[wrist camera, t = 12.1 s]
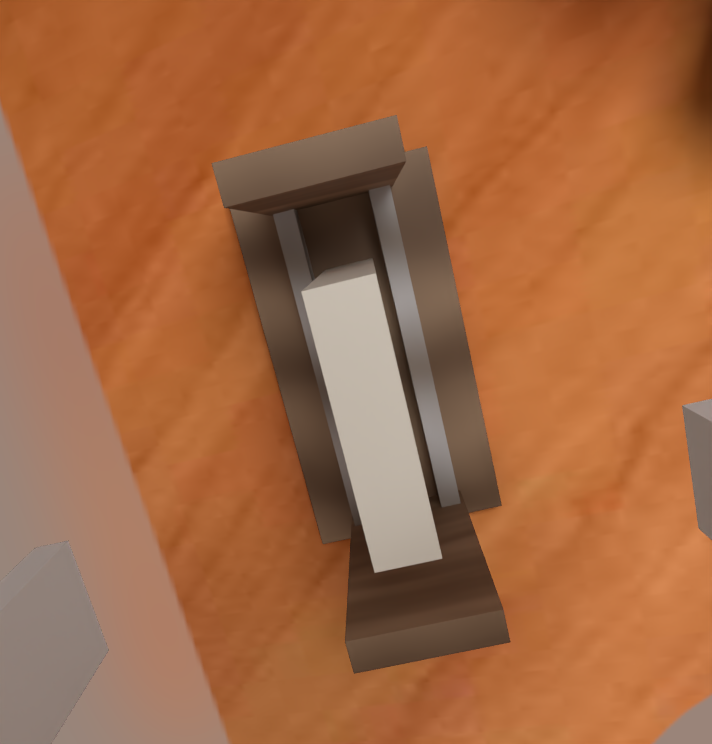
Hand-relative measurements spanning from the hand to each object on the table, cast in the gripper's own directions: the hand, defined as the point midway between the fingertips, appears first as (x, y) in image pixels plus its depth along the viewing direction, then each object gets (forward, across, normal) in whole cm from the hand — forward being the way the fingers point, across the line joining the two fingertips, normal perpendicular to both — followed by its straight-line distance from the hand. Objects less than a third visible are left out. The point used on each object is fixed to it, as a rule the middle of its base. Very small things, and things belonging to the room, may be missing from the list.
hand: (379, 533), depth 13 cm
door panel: (+20, 0, 0) cm, 20 cm away
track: (+21, 0, 0) cm, 21 cm away
